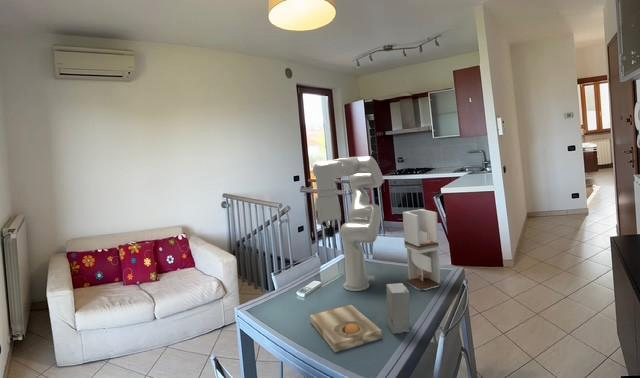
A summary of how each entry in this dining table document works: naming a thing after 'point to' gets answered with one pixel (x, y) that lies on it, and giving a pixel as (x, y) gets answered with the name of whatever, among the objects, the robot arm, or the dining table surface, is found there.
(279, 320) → the dining table surface
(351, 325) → the ball
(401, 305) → the skincare box
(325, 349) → the dining table surface
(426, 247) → the display case
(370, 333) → the block
